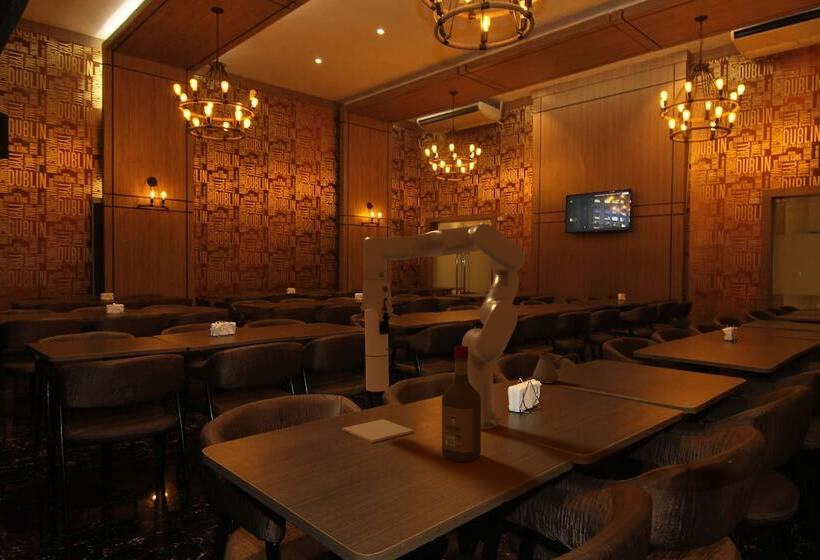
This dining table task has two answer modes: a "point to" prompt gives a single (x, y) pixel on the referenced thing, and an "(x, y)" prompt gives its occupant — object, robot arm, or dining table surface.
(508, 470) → the dining table surface
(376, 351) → the cylindrical container
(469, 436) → the liquor
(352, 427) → the mat
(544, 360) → the coffee pot
